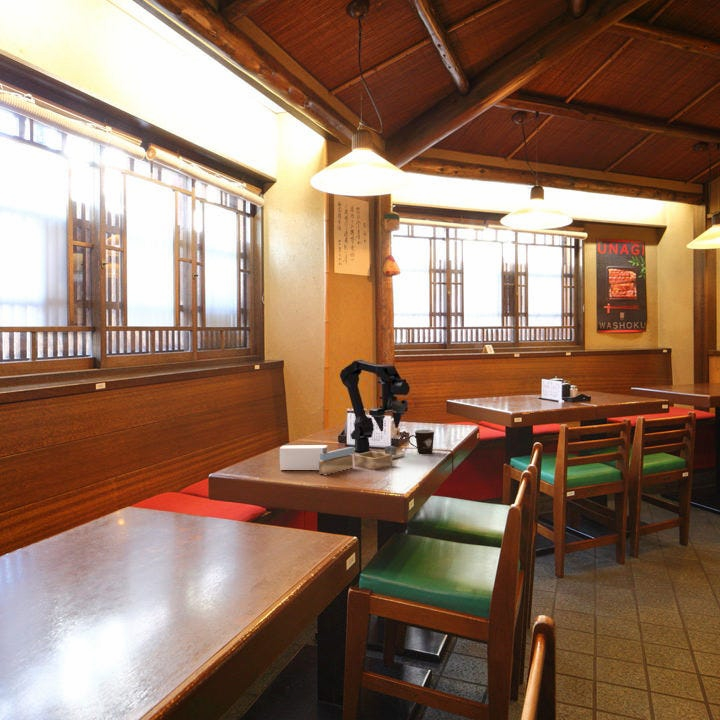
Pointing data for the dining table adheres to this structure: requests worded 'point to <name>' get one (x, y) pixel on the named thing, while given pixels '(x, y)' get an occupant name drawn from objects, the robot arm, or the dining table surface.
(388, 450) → the lid
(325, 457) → the block
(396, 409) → the robot arm
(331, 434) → the dining table surface
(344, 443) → the dining table surface
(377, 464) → the toolbox
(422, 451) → the coffee mug
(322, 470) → the tan rectangular bar
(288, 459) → the white rectangular block
